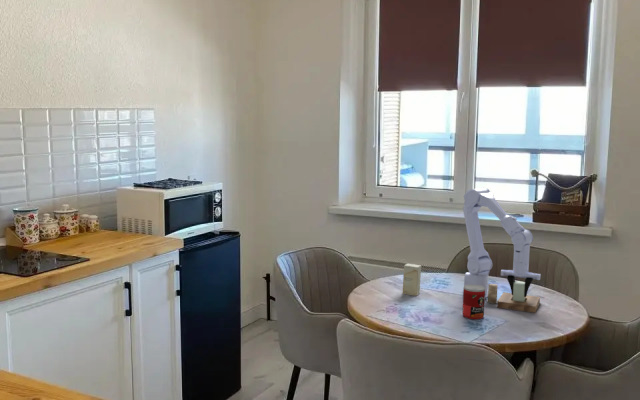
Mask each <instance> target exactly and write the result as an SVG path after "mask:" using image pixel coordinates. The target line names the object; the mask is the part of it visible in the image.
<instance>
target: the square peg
mask: <svg viewBox="0 0 640 400" xmlns="http://www.w3.org/2000/svg"><path fill="white" fill-rule="evenodd" d="M524 292H525V281H519V280H517V281H516V280H515V282H514V287H513V300H514V301H521V302H525V297H524Z"/></svg>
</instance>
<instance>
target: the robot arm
mask: <svg viewBox="0 0 640 400" xmlns="http://www.w3.org/2000/svg"><path fill="white" fill-rule="evenodd" d="M463 198H464V199H463V200H464V203H463V206H462V207H463V208H462V210H463V216H464V221H465V228H466V233H467V238H468V244H469V248H470V252H469V254H468V256H467V265H466V266H467V270H468V272H465V274H464V279H463V287H464V286H465V285H469V284H474V285H480V286H483V287H485V299H488V284H489V274H490V270H492V268H493V261H492V259H491V257H490V254H489V252H488V251H487V249H485V246H484V240H483V236H482V235H483V234H482V229H481V223H480V220H479V214H478V212H479V211H480V209H481V208H482V207H484V208H487V209H488V210H490V211H491V212H492V213H493V214H494V215H495V216H496V218H498V220H500V226H501V227H502V229H504V230H505V233H507V234H508V235H509V236H510V238H511V239H510V240H511V243H512V244H513V263H512V269H501V270H500V276H502V277H504V276H506V279H507V282H508V284H509V287H510V291H511V292H510V293H512V295H513V287H514V282H515V281H516V278H522V279H525V280H524V282H525V292H524V297H526V296H527V295H528V291H529V288H530V286H531V284H532V283H533V281H534V280H537V281H540V280H541V273H536V272H530V271H529V268H530V267H529V265H530V252H531V251H530V250H531V244H532V242H533V241H534V236H533V233H532V232H531V230H529V229H526V228H525V227H524V226H522V225H521V223H519V222H518V220H517V217H516V216H513V215H509V214H508V213H507V212H506V211H505V210H504V208H503V207H502V206H501V205H500V204H499V202H498V201H497V200H496V198H495V197H494V193H493V192H492V191H490V189H488V188H487V187H481V188H480V187H479V188H470V189H468V190H467V191H466V193H465V194H464V195H463Z"/></svg>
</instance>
